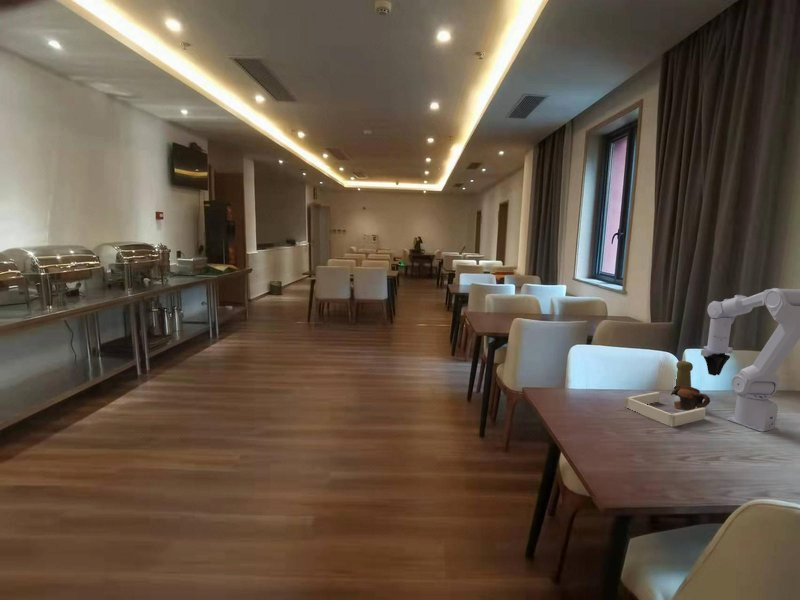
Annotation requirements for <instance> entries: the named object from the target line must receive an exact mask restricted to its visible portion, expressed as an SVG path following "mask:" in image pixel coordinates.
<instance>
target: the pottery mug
mask: <svg viewBox="0 0 800 600" xmlns="http://www.w3.org/2000/svg"><path fill="white" fill-rule="evenodd" d="M673 395H674V396H676V397H678V398H679V401H675V400H674V402H673V404H674V408H675V407H676V408H675V409H679V410H680V409H681V410H685V411H689V410H693V409H698V408H702V407H703V408H706V407H708V405H710V402H711V399H710V397H709V395H707V394H704V393H701V392H700V389H698V388H695V387H692V386H691V387H687V386H675V387H674V389H673V390H672V391H671V393H670V396H673Z"/></svg>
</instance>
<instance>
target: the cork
mask: <svg viewBox="0 0 800 600" xmlns="http://www.w3.org/2000/svg"><path fill="white" fill-rule="evenodd" d="M693 365H694V364H692V363H691V362H690V361H686V360H679V361H677V362H676V369H677V370H676V373H677V379H676V386H687V387H692V378H691V376H692V373H691V371H693V368H694V366H693Z"/></svg>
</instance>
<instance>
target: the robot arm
mask: <svg viewBox="0 0 800 600" xmlns="http://www.w3.org/2000/svg"><path fill="white" fill-rule="evenodd" d="M762 306H765V307H766V308H767V310H768V312H769V313H770V315H771V317H772V318H773V321H776V322H777V323H778V325H777V327H776V328H775V330H773V331H774V332H773V333H772V334H771V336H770V337H769V339H768V341H767V342H766V343H765V345H764V346H763V348H762V349H761V351H760V353H758V355H757V357H756V359H755V361H754V362H752V363H753V364H752V365H749V366H746V367H744V368H742V369H740V371H739V372H738V373H736V374H735V375H733V377H732V379H731V387H732V389H733V391H734V393H735V394H736V401H735V407H734V408H735V409H734V414H733V416H730V417H727V418H726V419H727V420H728V421H730V422H733V423H736V424H738V425H741V426H744V427H747V428H749V429H753V430H756V431H758V432H761V433H762V432H766V431H771V430H775V429H777V426H776V424H777V417H778V411H779V406H778V404H777V402H776V401H775V402H774V401H772V400H771V398H772V397H771V396H773V395H775V393H776V392H777V389H778V385H779V383H780V382H781V379H780V377H779V376H778V374H777V373H776V372H777V371H778V370H779V369H780V367H781V366H782V365H783V363H784V362H785V360H786V359H787V358H788V356H789V355H790V354H791V352H792V351H793V349H794V348H795V346H796V345H797V344H798V342H799V340H800V288H798V289H797V288H796V289H795V288H777V287H772V288H769V289H765V290H763V291H762V292H759V293H756V294H754V295H750V296H746V295H742V294H736V295H734V297H731V298H725V299H723V301H717V300H713V301H711V302H710V303H709V304H708V306H707V314H708V316H709V318H710V320H709V321H710V322H709V330H708V339H707V345H704V346H703V349H701V350H700V356H701V357H702V356H703V358H704V359H703V360H705V361H704V362H705V363H706V367H707V373H708V375H711V376H714V377H715V376H720V375H721V373H722V371H723V369H724V366H725V364H726V363H727V362H728V360H730V358H731V355H728V354H732V353H733V350H734V349H733V348H734V347H730V346H729V344H730V335H731V330H732V325H733V324H734V321H735V319H736V317H737V316H739V315H745V314H749V313H750V312H752V310H753V309H754V308H757V307H762Z"/></svg>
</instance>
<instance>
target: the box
mask: <svg viewBox="0 0 800 600" xmlns="http://www.w3.org/2000/svg"><path fill="white" fill-rule="evenodd" d="M660 396H661V392H659V391H655V392H649V393H644V394H638V395H632V396H626V397H625V401H624V408H625V407H626V408H625V409H627V408H629V409H631V410H630V411H632V410H633V411H632V412H634V411H636V412H635V413H637V412H638V413H637V414H639V413H640V414H639V415H642V416H644V417H647V418H649V419H652V420H654V421H657V422H658V423H661V424H664V425H665V426H666V425H667V426H669V427H671V428H673V427H678V426H681V425H686V424H689V423H694V422H698V421H703V420H705V419H706V418H705V417H706V411H707V409H706V407H702V408H698V409H697V408H695V409H693V410H685V411H680V412H676V413H670V412H667V411H665V410H662V409H660V408H657V407H655V406H652V405H650V404H648V403H653V402H658V401H659V402H660ZM659 402H658V403H659ZM647 404H648V405H647ZM653 404H654V403H653ZM629 409H628V410H629Z"/></svg>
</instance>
